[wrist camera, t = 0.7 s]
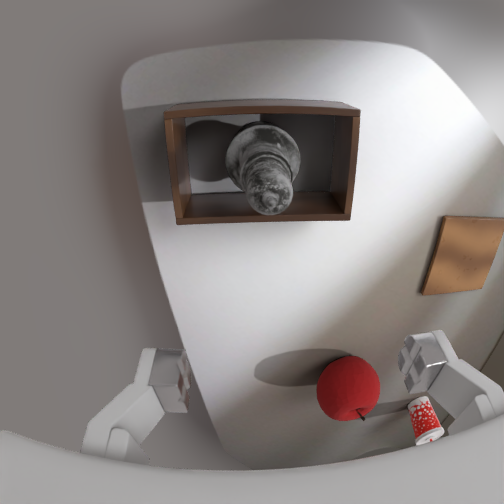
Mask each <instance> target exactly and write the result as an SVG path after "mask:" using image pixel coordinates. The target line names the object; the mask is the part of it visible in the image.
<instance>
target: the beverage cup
mask: <svg viewBox="0 0 504 504" xmlns="http://www.w3.org/2000/svg"><path fill="white" fill-rule="evenodd" d="M408 409H409V413H410V417H411V421H412V425H413V429H414V433H415V437H416V440H415V442H416V445H421V444H424V443H428V442H431V441H434V440H436V439H437V438H439V437H440V436H442V435H443V433H444V430H443V428H442V427H441V425H440V423H439V421H438V419H437V416H436V414H435V412H434V410H433V408H432V406H431V404H430V401H429V399H428V397H426V396H423V397H419V398H417V399H415V400H413V401H412V402H410V403H409V405H408Z"/></svg>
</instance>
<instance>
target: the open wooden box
mask: <svg viewBox="0 0 504 504" xmlns="http://www.w3.org/2000/svg"><path fill="white" fill-rule="evenodd" d="M360 111H361V110H360V109H357V108H355V107H352V106H350V105H347V104H345V103H342V102H332V101H313V100H230V101H212V102H198V103H186V104H177V105H175V106H174V107H172V108H170V109H168V110H166V111H165V112H164V119H165V120H164V123H165V134H166V144H167V153H168V162H169V171H170V179H171V187H172V195H173V203H174V210H175V217H176V224H177V225H188V224H213V223H243V222H281V221H348V220H350V217H351V209H352V201H353V193H354V184H355V174H356V164H357V153H358V141H359V128H360ZM233 114H317V115H335V123H334V142H333V159H332V173H331V186H330V192H328V191H302V192H293V197H292V200H291V203H290V205H289V206H288V207H287V208H286V209H285V210H284V211H283V212H281V213H279V214H276V215H263V214H261V213H258V212H257V211H255V210H254V209H253V208H252V207H251V205H250V204H249V203H248V200H247V197H246V193H218V194H196V195H191V184H190V174H189V164H188V153H187V141H186V129H185V118H186V117H198V116H213V115H233Z"/></svg>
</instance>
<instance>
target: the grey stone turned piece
mask: <svg viewBox="0 0 504 504" xmlns="http://www.w3.org/2000/svg"><path fill="white" fill-rule="evenodd" d="M225 160H226V169H227V172H228V174H229V177H230V178H231V180H232V181H233V182H234V184H235V185H236V186H238V187H239V188H240V189H241V190H243V191H245V192H246V197H247V200H248V203H249V204H250V205H251V207H252V208H253V209H254V210H255V211H257V212H258V213H261V214H263V215H276V214H279V213H281V212H283V211H284V210H285V209H286V208H287V207H288V206H289V205H290V203H291V200H292V197H293V188H292V182H293V181H294V179H295V178H296V176H297V174H298V172H299V168H300V152H299V149H298V146H297V144H296V143H295V141H294V139H293V138H292V137H291V136H290V135H289V134H288V133H287V132H285V131H284V130H282V129H281V128H279V127H278V126H276V125H274V124H272V123H268V122H254V123H250V124H248V125H246V126H244V127H243V128H241V129H240V130H239V131H238V133H237V134H236V135H235V137H234V139H233V140H232V141H231V143H230V145H229V147H228V149H227V153H226V159H225Z"/></svg>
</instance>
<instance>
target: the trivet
mask: <svg viewBox="0 0 504 504" xmlns="http://www.w3.org/2000/svg"><path fill="white" fill-rule="evenodd" d="M503 232H504V218H491V217H463V216H444V217H443V221H442V225H441V229H440V233H439V236H438V240H437V243H436V247H435V250H434V254H433V257H432V260H431V264H430V267H429V270H428V273H427V276H426V279H425V282H424V285H423V288H422V291H421V294H422V295H433V294H442V293H451V292H459V291H468V290H476V289H482V287H483V285H484V282H485V280H486V277H487V275H488V273H489V270H490V268H491V265H492V262H493V260H494V257H495V254H496V252H497V249H498V246H499V243H500V241H501V238H502V235H503Z"/></svg>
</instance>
